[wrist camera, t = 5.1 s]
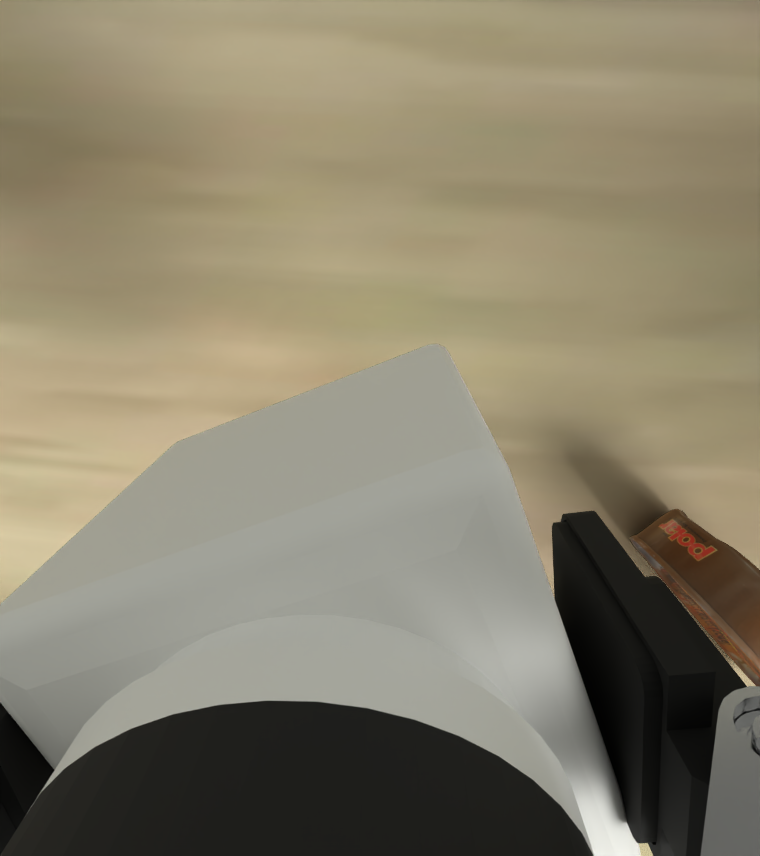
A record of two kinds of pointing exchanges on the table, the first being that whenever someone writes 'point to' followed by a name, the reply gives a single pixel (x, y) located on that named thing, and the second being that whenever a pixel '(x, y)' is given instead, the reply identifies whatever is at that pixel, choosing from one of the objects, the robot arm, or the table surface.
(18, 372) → the table surface
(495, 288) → the table surface
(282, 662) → the medicine bottle
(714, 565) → the tin
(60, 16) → the table surface
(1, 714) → the robot arm
